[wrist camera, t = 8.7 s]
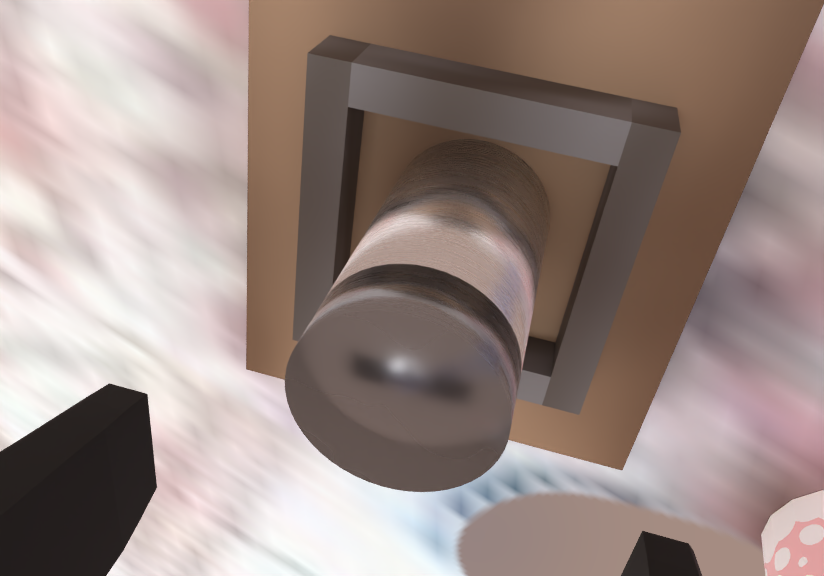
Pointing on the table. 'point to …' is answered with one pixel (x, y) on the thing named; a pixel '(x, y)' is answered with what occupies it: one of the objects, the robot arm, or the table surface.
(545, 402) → the dock board
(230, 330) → the table surface
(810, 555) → the beverage cup
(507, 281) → the metal cylinder
